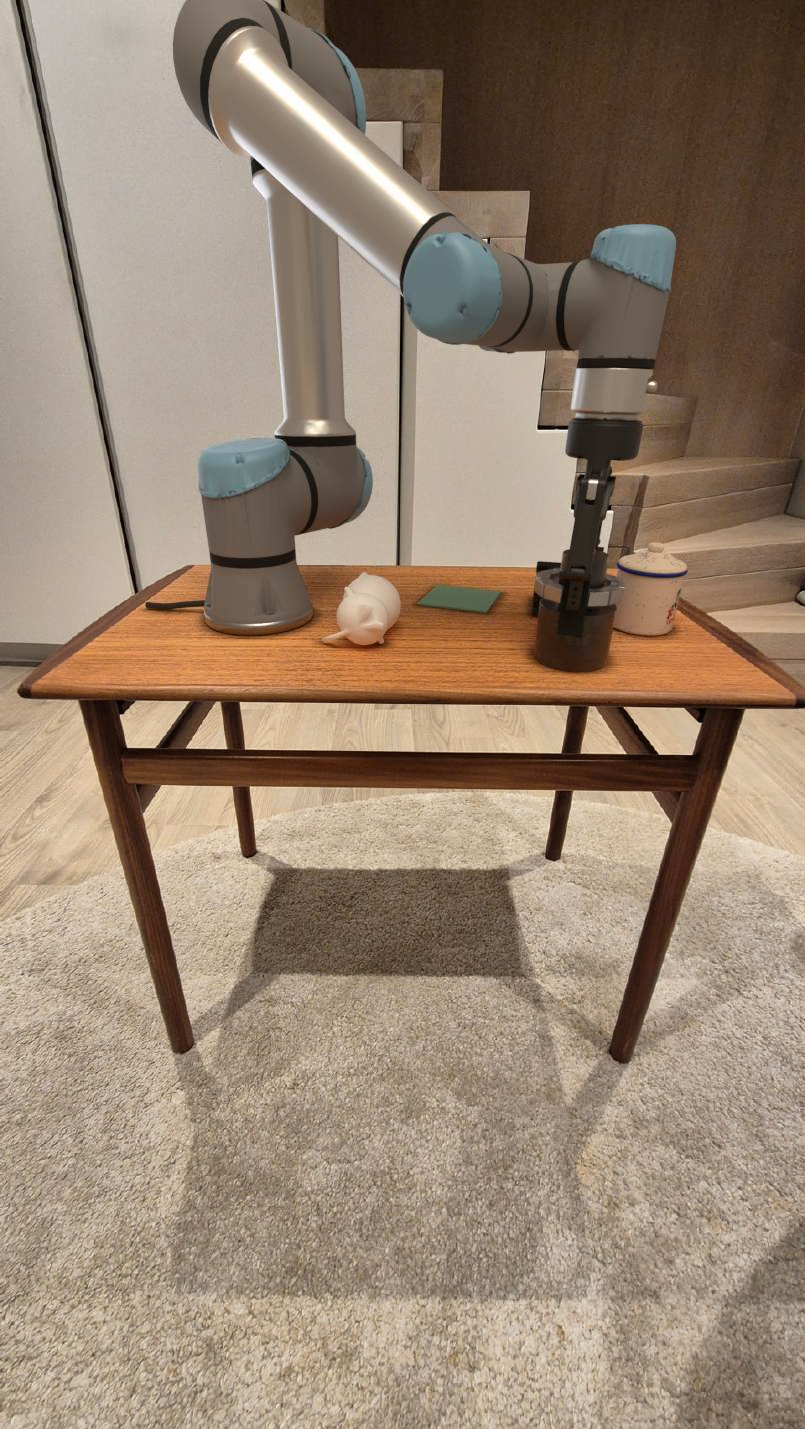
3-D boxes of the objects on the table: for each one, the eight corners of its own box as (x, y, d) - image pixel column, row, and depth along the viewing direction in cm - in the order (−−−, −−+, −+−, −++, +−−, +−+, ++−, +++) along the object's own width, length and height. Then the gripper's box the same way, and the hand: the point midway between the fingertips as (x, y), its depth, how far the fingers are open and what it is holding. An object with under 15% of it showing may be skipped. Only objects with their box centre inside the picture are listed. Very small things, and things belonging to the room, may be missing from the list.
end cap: (581, 621, 87) (588, 575, 84) (531, 617, 88) (537, 572, 85) (577, 601, 96) (584, 558, 93) (532, 597, 97) (537, 555, 94)
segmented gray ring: (528, 599, 69) (529, 586, 68) (540, 577, 77) (542, 564, 76) (621, 611, 66) (624, 597, 65) (623, 586, 74) (626, 573, 73)
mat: (417, 605, 93) (417, 603, 93) (437, 586, 102) (437, 584, 102) (486, 613, 90) (486, 611, 90) (501, 593, 99) (501, 591, 99)
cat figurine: (364, 581, 70) (384, 554, 81) (295, 622, 75) (322, 591, 85) (403, 642, 73) (417, 608, 84) (335, 678, 78) (356, 641, 88)
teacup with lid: (680, 639, 81) (701, 553, 76) (610, 634, 82) (626, 549, 77) (661, 611, 92) (679, 533, 86) (600, 607, 93) (614, 531, 87)
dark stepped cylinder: (528, 666, 73) (542, 548, 66) (538, 640, 80) (552, 532, 74) (604, 677, 70) (627, 555, 63) (608, 649, 78) (629, 538, 71)
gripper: (645, 423, 52) (599, 658, 63) (644, 414, 71) (609, 597, 81) (557, 419, 54) (527, 648, 65) (579, 412, 73) (553, 590, 84)
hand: (573, 619), depth 73 cm, fingers closed on segmented gray ring, 10 cm apart
